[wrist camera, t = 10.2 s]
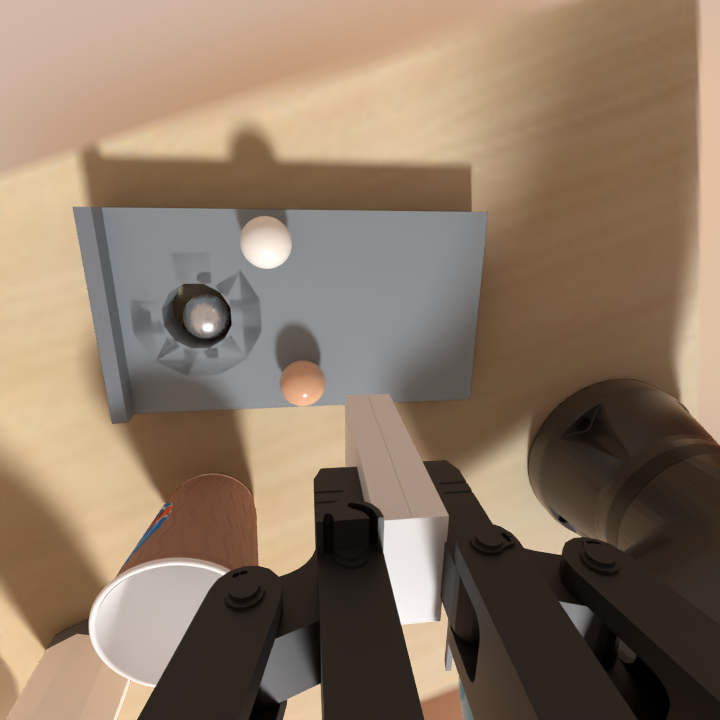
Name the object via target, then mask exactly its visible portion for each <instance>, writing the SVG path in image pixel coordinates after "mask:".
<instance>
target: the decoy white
mask: <svg viewBox="0 0 720 720" xmlns="http://www.w3.org/2000/svg"><path fill="white" fill-rule="evenodd" d="M240 247H241V250H242V253H243V255H244V256H245V258H246V259H247V260H248V261H249V262H250V263H251V264H253V265H254V266H257V267H259V268H263V269H271V268H275V267H278V266H280V265H281V264H283V263H284V262H285V261H286V260H287V258H288V257H289V255H290V252H291V249H292V239H291V235H290V232H289V231H288V229H287V227H286V226H285V225H284V224H283V223H282V222H281V221H279V220H278V219H276V218H273V217H269V216H260V217H256V218H254V219H252V220H250V221H249V222H248V223H247V224H246V225H245V226H244V228H243V229H242V232H241V235H240Z"/></svg>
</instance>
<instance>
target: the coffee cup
mask: <svg viewBox="0 0 720 720" xmlns="http://www.w3.org/2000/svg"><path fill="white" fill-rule="evenodd" d="M243 566H258V542H257V516H256V508H255V505H254V500H253V498H252V495H251V493H250V492H249V490H248V489H247V487H246V486H245V485H244V484H243V483H241V482H240V481H238V480H237V479H235V478H233V477H230V476H227V475H223V474H215V473H210V474H202V475H199V476H196V477H193V478H191V479H189V480H188V481H186V482H185V483H184V484H182V486H181V487H180V488H179V489H177V491H176V492H175V493H173V495H172V496H171V497H170V499H169V500H168V502H167V503H166V504H165V505H164V506H163V507H162V509H161V510H160V512H159V513H158V515H157V516H156V518H155V519H154V521H153V522H152V524H151V525H150V527H149V528H148V529H147V531H146V532H145V534H144V535H143V537H142V538H141V540H140V541H139V543H138V544H137V546H136V547H135V549H134V550H133V552H132V553H131V555H130V556H129V558H128V559H127V561H126V562H125V563H124V565H123V566H122V568H121V570H120V571H119V573H118V574H117V576H116V577H115V578H114V579H113V580H112V581H111V582H109V583H108V584H107V585H106V586H105V587H104V588H103V589H102V591H101V592H100V593H99V595H98V596H97V598H96V599H95V601H94V603H93V605H92V608H91V611H90V616H89V635H90V639H91V642H92V645H93V647H94V649H95V651H96V653H97V654H98V656H99V657H100V658H101V659H102V661H103V662H104V663H105V664H106V665H107V666H109V667H110V668H111V669H112V670H114V671H115V672H116V673H118V674H120V675H121V676H123V677H125V678H127V679H129V680H131V681H134V682H137V683H140V684H143V685H147V686H151V687H156V685H157V683H158V681H159V679H160V678H161V676H162V674H163V672H164V670H165V669H166V667H167V665H168V663H169V661H170V659H171V658H172V656H173V654H174V652H175V650H176V649H177V647H178V645H179V643H180V641H181V640H182V638H183V636H184V634H185V632H186V631H187V629H188V627H189V625H190V623H191V622H192V620H193V618H194V616H195V614H196V612H197V611H198V609H199V607H200V605H201V603H202V602H203V600H204V598H205V596H206V594H207V593H208V591H209V589H210V588H211V587H212V585H213V584H214V583H215V582H216V581H217V579H218V578H220V577H221V576H223V575H224V574H226V573H227V572H229V571H231V570H234V569H237V568H240V567H243ZM103 599H104V600H103ZM102 601H103V602H102ZM101 603H102V604H101ZM100 605H101V606H100ZM99 607H100V608H99ZM97 613H98V614H97Z"/></svg>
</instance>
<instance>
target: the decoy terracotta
mask: <svg viewBox="0 0 720 720" xmlns="http://www.w3.org/2000/svg"><path fill="white" fill-rule="evenodd" d="M325 386H326V380H325V376H324V373H323V371H322V370H321V368H320V367H319V366H318V365H316V364H315V363H313V362H311V361H306V360H299V361H295V362H293V363H291V364H289V365H288V366H287V367H286V368H285V369H284V370H283V372H282V374H281V377H280V390H281V392H282V394H283V396H284V397H285V399H287V400H288V401H289V402H290V403H292V404H294V405H298V406H307V405H311V404H313V403H315V402H316V401H317V400H319V399H320V397H321V396H322V395H323V393H324V390H325Z"/></svg>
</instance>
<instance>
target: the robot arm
mask: <svg viewBox="0 0 720 720" xmlns="http://www.w3.org/2000/svg"><path fill="white" fill-rule="evenodd" d="M529 479H530V484H531V487H532V490H533V492H534V494H535V496H536V497H537V499H538V500H539V502H540V503H541V504H542V505H543V506H544V508H545V509H546V510H547V511H548V512H549V514H550V515H551V516H552V517H553V518H554V519H555V520H556V521H557V522H559V523H560V524H561V525H563V526H564V527H566V528H567V529H569V530H571V531H573V532H575V533H577V534H579V535H580V536H582V537H581V538H573V539H571V540H569V541H568V542H566V543H565V545H564V547H563V550H562V555H557V554H551V553H545V552H538V551H533V550H529V549H525V548H523V546H522V545H521V543H520V542H519V540H518V539H517V538H516V537H515V536H514V535H513V534H512V533H511V532H509V531H507V530H505V529H504V528H502V527H500V526H496V525H493V524H492V522H491V521H490V519H489V518H488V516H487V514H486V513H485V511H484V509H483V508H482V506H481V505H480V503H479V501H478V500H477V498H476V497H475V495H474V493H472V490H471V488H470V487H469V485H468V484H467V483H466V480H465V479H464V477H463V476H462V474H461V472H460V471H459V469H457V468H456V467H454V466H453V465H452V464H450V463H449V462H447V461H446V460H442V461H424V462H422V460H421V458H420V456H419V454H418V452H417V450H416V448H415V445H414V443H413V441H412V439H411V437H410V435H409V433H408V431H407V429H406V427H405V425H404V423H403V421H402V419H401V417H400V415H399V413H398V411H397V409H396V407H395V405H394V403H393V401H392V398H391V396H390V394H370V395H345V467H341V468H323V469H320V471H319V472H318V474H317V475H316V477H315V478H314V511H315V542H316V549H315V552H314V554H313V556H312V557H311V559H310V560H309V561H308V562H307V563H306V564H305V565H303V566H302V567H301V568H299V569H297V570H295V571H293V572H291V573H289V574H286V575H283V576H280V577H278V575H276V574H275V573H274V572H272V571H271V570H270V569H268V568H264V567H260V566H243V567H240V568H237V569H234V570H231V571H229V572H227V573H226V574H224V575H223V576H221V577H220V578H218V579H217V581H216V582H215V583H214V584H213V585H212V587H211V588H210V589H209V591H208V593H207V594H206V596H205V598H204V600H203V602H202V603H201V605H200V607H199V609H198V611H197V612H196V614H195V616H194V618H193V620H192V622H191V623H190V625H189V627H188V629H187V631H186V632H185V634H184V636H183V638H182V640H181V641H180V643H179V645H178V647H177V649H176V650H175V652H174V654H173V656H172V658H171V659H170V661H169V663H168V665H167V667H166V669H165V670H164V672H163V674H162V676H161V678H160V679H159V681H158V683H157V685H156V687H155V688H154V690H153V692H152V694H151V696H150V697H149V699H148V701H147V703H146V705H145V706H144V708H143V710H142V712H141V714H140V716H139V717H138V719H137V720H283V717H284V713H285V709H286V705H287V699H289V698H291V697H293V696H295V695H297V694H299V693H301V692H303V691H305V690H307V689H309V688H312V687H314V686H316V685H318V684H320V683H321V704H322V720H424V717H423V713H422V709H421V705H420V700H419V696H418V692H417V688H416V684H415V680H414V676H413V672H412V668H411V663H410V659H409V655H408V651H407V647H406V643H405V639H404V635H403V631H402V627H401V625H403V624H413V623H423V622H433V621H440V618H441V606H442V603H443V605H444V608H445V611H446V614H447V617H448V629H447V640H446V651H445V668H446V671H450V670H451V665H452V656H453V659H454V662H455V665H456V668H457V671H458V674H459V694H460V702H461V710H462V715H463V720H720V445H719V444H717V442H716V441H715V440H714V439H713V438H712V436H711V435H710V434H709V433H708V432H707V431H706V430H705V429H704V428H703V427H702V426H701V425H700V424H699V423H698V422H697V421H696V419H695V418H694V417H693V416H692V415H691V414H690V413H689V411H688V410H687V409H686V407H685V406H684V405H683V404H682V403H681V402H679V401H678V400H677V399H675V398H674V397H673V396H671V395H669V394H668V393H666V392H664V391H662V390H660V389H657V388H655V387H653V386H651V385H649V384H647V383H644V382H640V381H636V380H628V379H619V380H610V381H605V382H601V383H598V384H595V385H592V386H590V387H587V388H585V389H583V390H581V391H579V392H578V393H576V394H574V395H573V396H571V397H570V398H568V399H567V400H566V401H564V402H563V403H562V404H561V405H560V406H559V407H558V408H557V409H556V410H555V411H554V412H553V413H552V414H551V415H550V416H549V417H548V419H547V420H546V421H545V423H544V424H543V426H542V427H541V429H540V430H539V432H538V434H537V436H536V438H535V441H534V443H533V446H532V449H531V453H530V458H529Z"/></svg>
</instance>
